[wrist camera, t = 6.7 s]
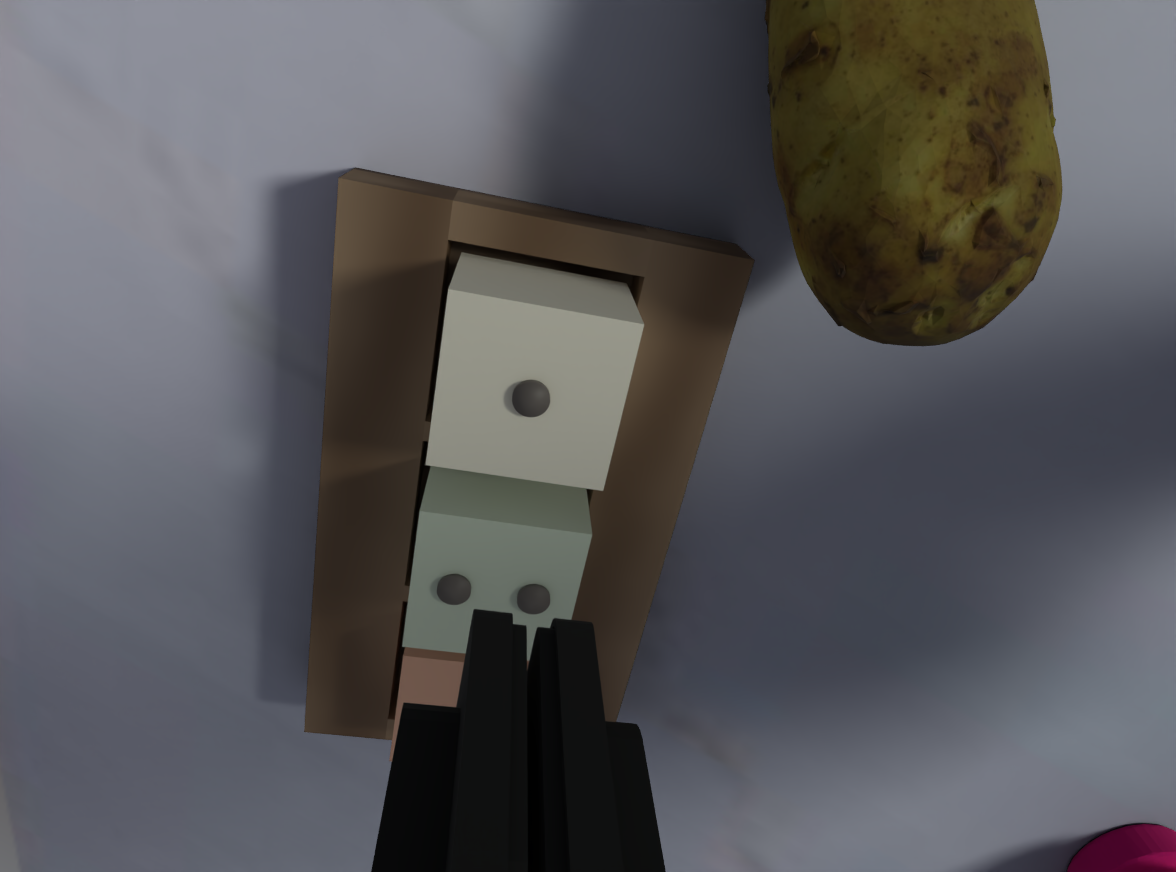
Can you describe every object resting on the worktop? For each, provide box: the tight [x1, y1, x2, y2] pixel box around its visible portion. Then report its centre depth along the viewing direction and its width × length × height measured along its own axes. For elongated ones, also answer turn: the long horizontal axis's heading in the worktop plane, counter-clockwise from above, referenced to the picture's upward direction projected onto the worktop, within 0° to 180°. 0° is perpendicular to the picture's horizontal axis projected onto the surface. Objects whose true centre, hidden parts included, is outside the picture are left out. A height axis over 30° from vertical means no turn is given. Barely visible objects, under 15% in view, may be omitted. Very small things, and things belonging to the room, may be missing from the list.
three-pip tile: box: [390, 647, 529, 761], centre depth 28 cm, size 5×5×4 cm
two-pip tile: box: [402, 466, 592, 661], centre depth 25 cm, size 5×5×4 cm
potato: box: [765, 0, 1062, 346], centre depth 19 cm, size 8×13×8 cm, turn 171°
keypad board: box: [304, 168, 755, 740], centre depth 27 cm, size 12×21×2 cm, turn 168°
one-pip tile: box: [426, 252, 644, 491], centre depth 22 cm, size 5×5×4 cm
